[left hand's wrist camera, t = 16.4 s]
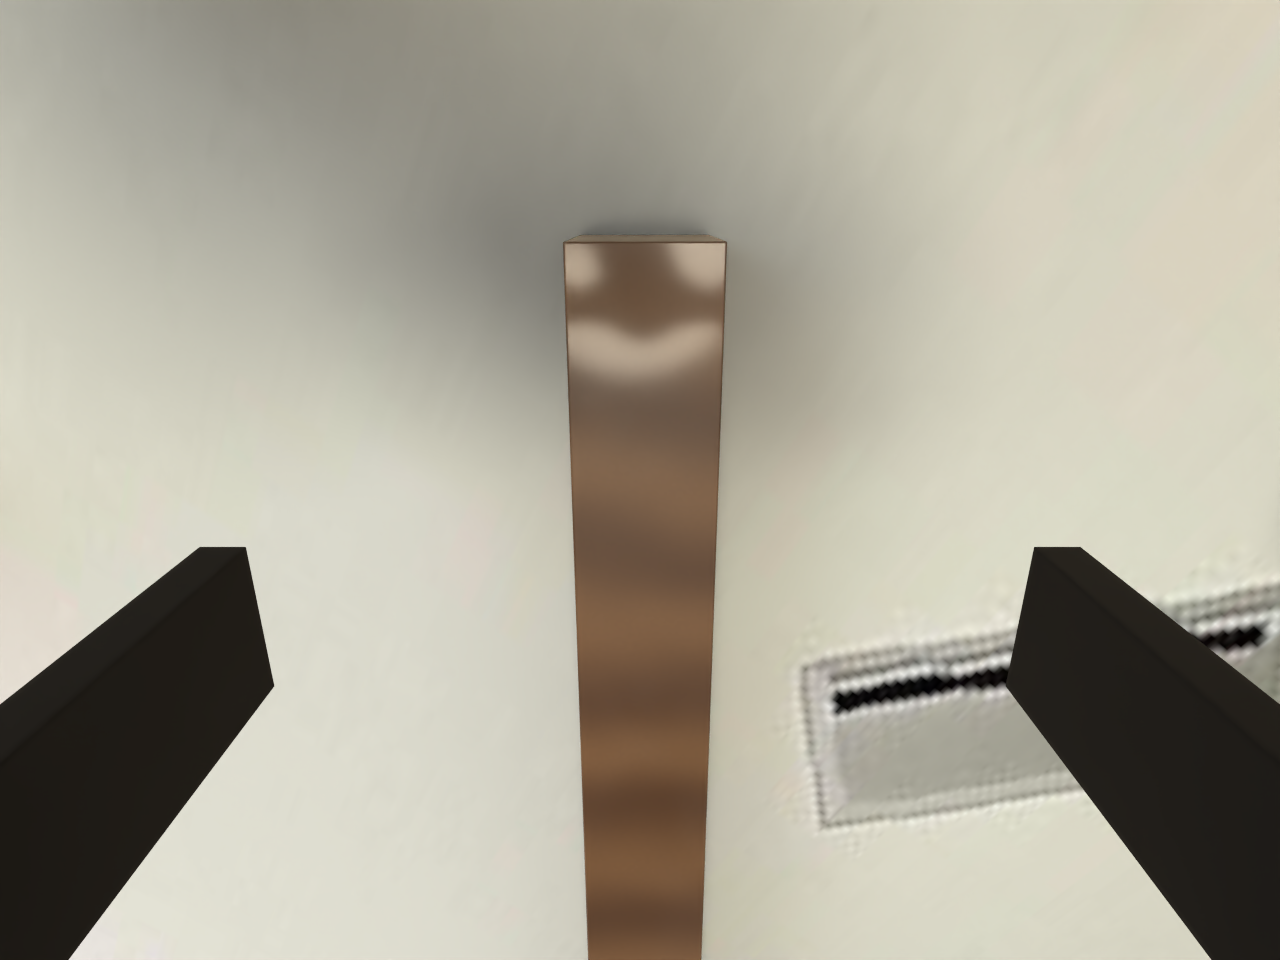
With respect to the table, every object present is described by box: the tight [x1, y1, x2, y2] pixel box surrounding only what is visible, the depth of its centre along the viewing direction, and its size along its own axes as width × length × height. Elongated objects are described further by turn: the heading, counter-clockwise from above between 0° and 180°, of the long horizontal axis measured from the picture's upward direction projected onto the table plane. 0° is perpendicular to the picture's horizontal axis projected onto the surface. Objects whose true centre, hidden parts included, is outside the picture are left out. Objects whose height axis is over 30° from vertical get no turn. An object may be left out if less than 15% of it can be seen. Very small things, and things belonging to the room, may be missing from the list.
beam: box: [563, 235, 727, 960], centre depth 41 cm, size 66×6×7 cm, turn 0°
